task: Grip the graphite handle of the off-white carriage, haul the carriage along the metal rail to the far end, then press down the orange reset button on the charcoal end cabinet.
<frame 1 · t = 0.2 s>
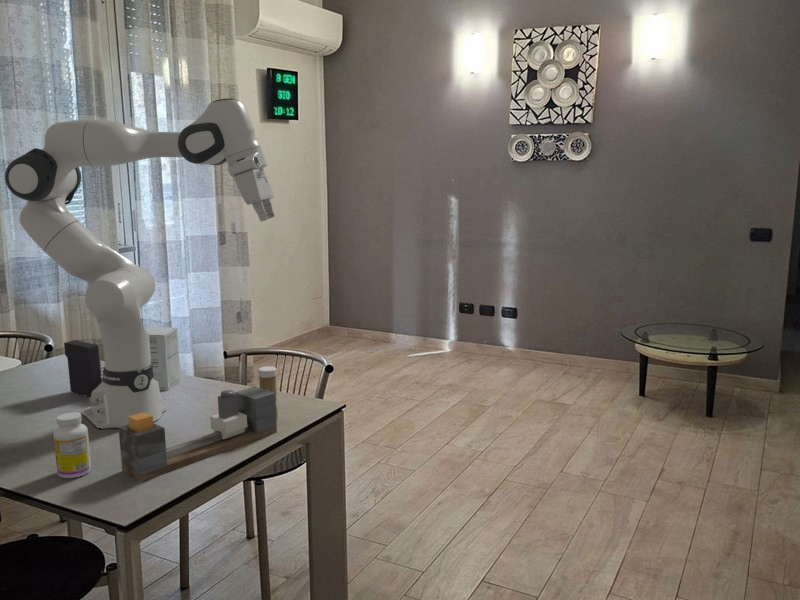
hand: (268, 219, 173), 51 cm above the table, tool tilted 20°, fingers open, 8 cm apart
sprinkles bottle: (269, 418, 183), on the table
supplement box: (160, 386, 211), on the table
black rectangular box: (86, 394, 204), on the table
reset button: (141, 427, 150), point 10 cm above the table, slide at 0.0 cm
supplement bottle: (74, 473, 151), on the table
rail frame: (204, 450, 163), on the table
carriage: (228, 413, 167), point 7 cm above the table, slide at 0.0 cm
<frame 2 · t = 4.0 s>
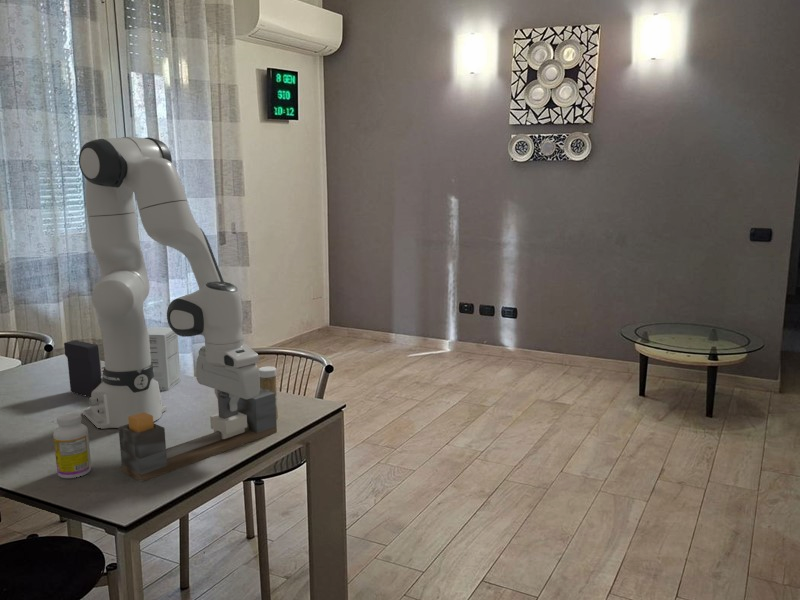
hand: (228, 408, 167), 8 cm above the table, tool pointing down, fingers closed on carriage, 2 cm apart
carriage: (228, 413, 167), point 7 cm above the table, slide at 0.0 cm, touching gripper
everything else where it was.
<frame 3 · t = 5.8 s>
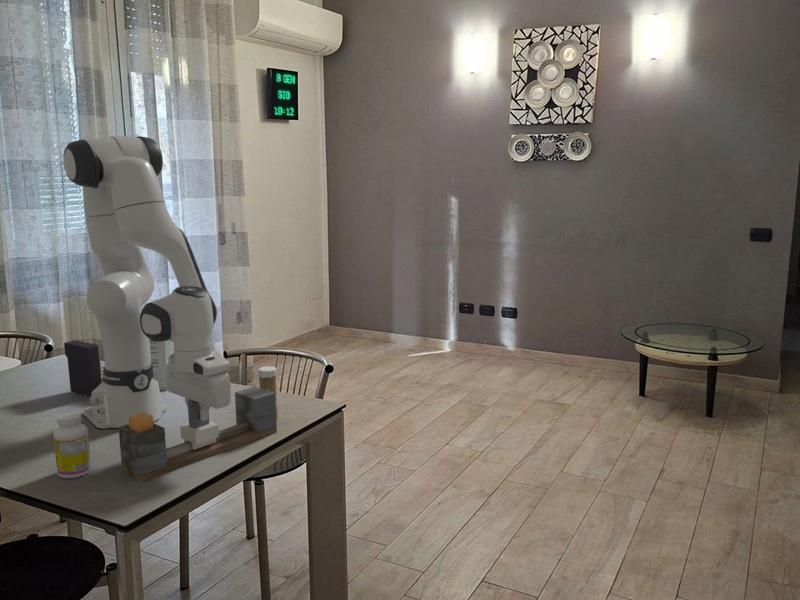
hand: (198, 418, 161), 8 cm above the table, tool pointing down, fingers closed on carriage, 2 cm apart
carriage: (199, 422, 161), point 7 cm above the table, slide at 8.0 cm, touching gripper
everything else where it was.
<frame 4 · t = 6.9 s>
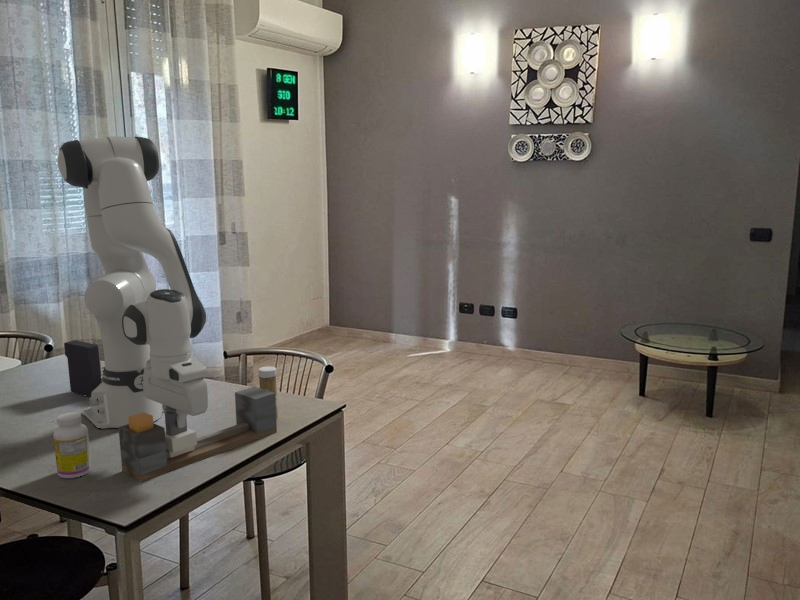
hand: (176, 425, 156), 8 cm above the table, tool pointing down, fingers closed on carriage, 2 cm apart
carriage: (176, 429, 157), point 7 cm above the table, slide at 13.8 cm, touching gripper
everything else where it was.
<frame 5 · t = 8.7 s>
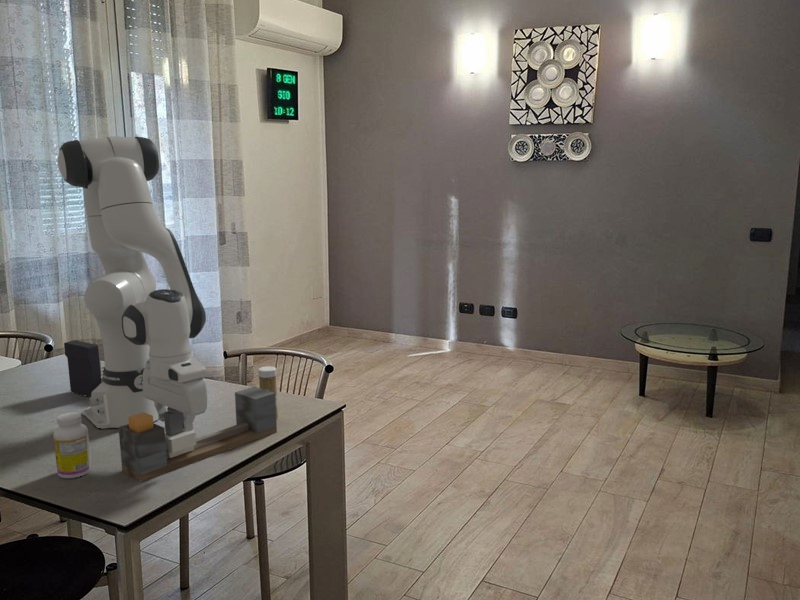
hand: (175, 425, 156), 8 cm above the table, tool pointing down, fingers open, 8 cm apart
carriage: (175, 429, 156), point 7 cm above the table, slide at 14.0 cm
everything else where it was.
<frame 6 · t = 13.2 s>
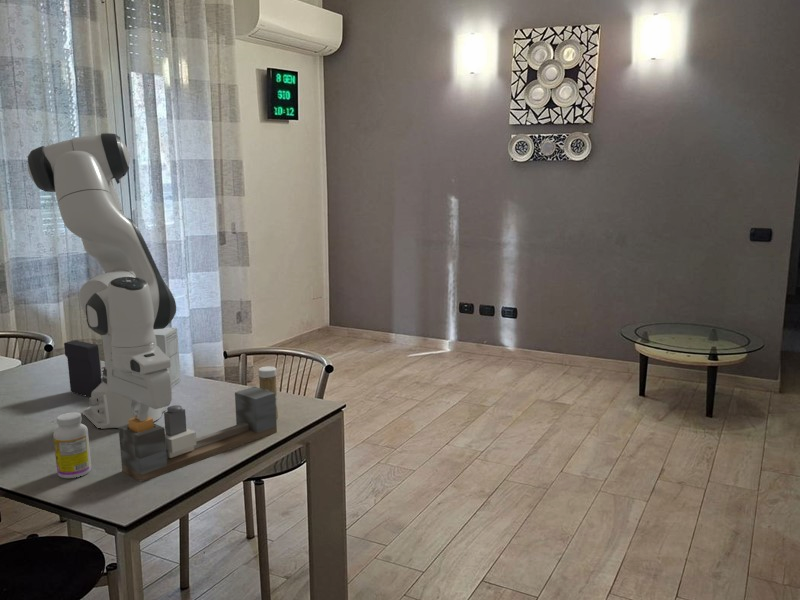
hand: (140, 419, 149), 12 cm above the table, tool pointing down, fingers closed, pressing on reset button
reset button: (141, 430, 150), point 9 cm above the table, slide at 0.7 cm, touching gripper
everything else where it was.
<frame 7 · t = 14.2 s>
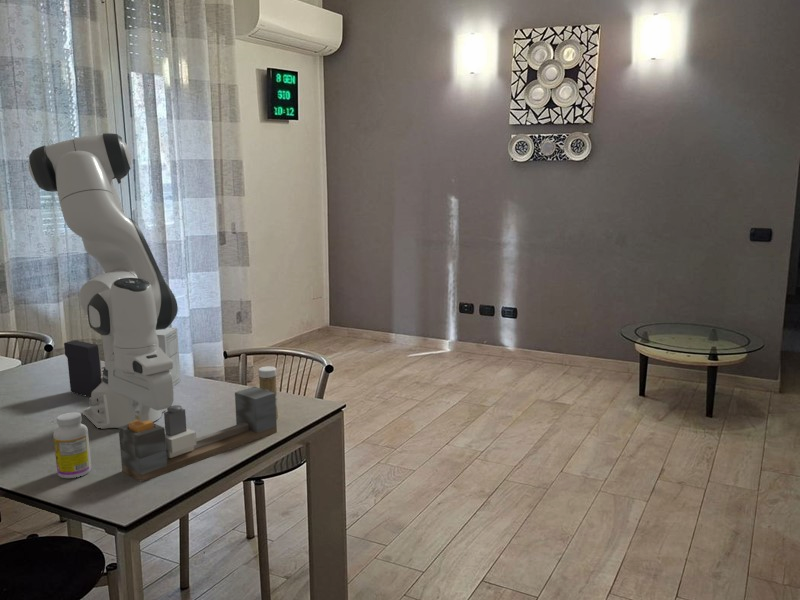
hand: (141, 419, 150), 12 cm above the table, tool pointing down, fingers closed
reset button: (141, 433, 150), point 9 cm above the table, slide at 1.4 cm
everything else where it was.
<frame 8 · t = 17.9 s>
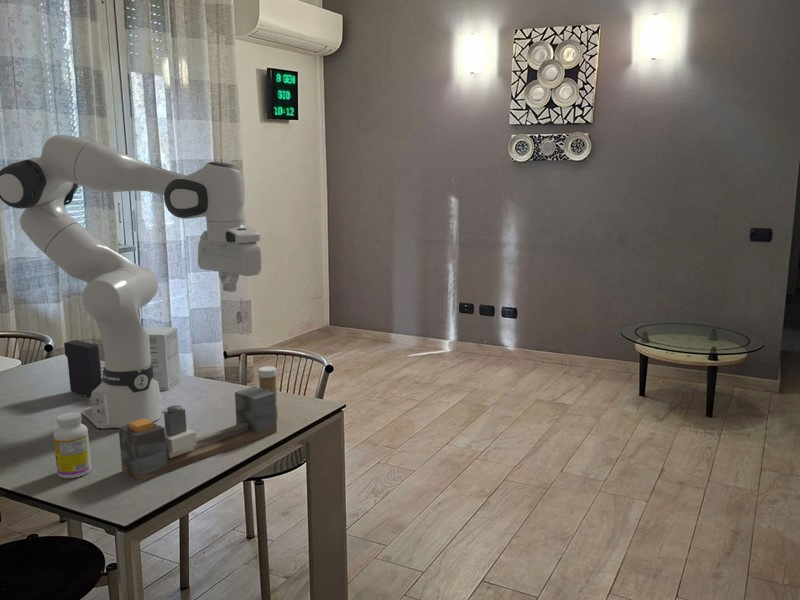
hand: (229, 291, 168), 35 cm above the table, tool pointing down, fingers closed
nothing on the table moved.
at the end: carriage slide at 14.0 cm; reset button slide at 1.4 cm; the gripper is holding nothing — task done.
